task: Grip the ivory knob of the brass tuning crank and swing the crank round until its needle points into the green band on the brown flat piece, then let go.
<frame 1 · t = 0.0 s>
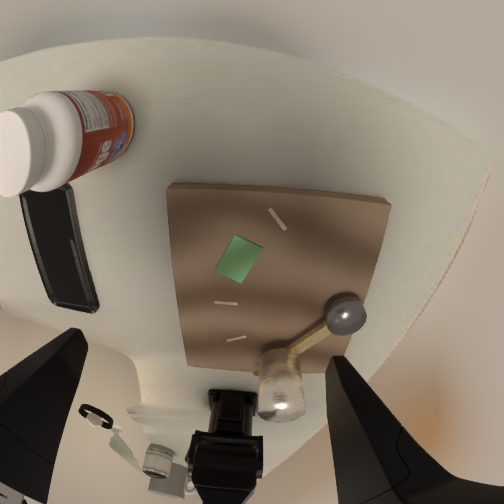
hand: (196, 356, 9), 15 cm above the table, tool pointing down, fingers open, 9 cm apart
coffee mug: (177, 467, 58), on the table
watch: (98, 410, 43), on the table
pill bottle: (105, 126, 19), on the table
brown flat piece: (271, 294, 25), on the table
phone: (61, 248, 25), on the table
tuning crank: (306, 365, 23), point 5 cm above the table, hinge at 140.0°
camera lens: (161, 448, 49), on the table
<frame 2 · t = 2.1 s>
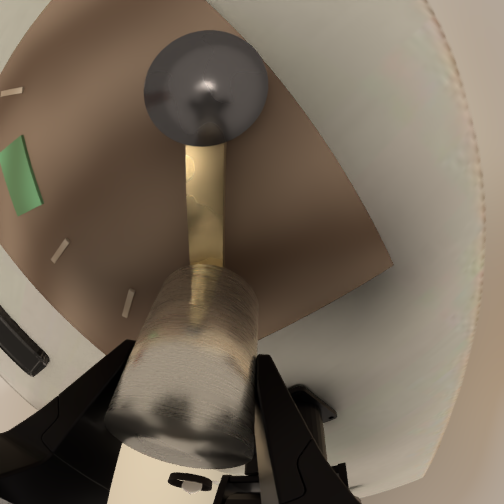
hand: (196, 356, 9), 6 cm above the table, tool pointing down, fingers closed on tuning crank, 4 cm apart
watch: (190, 474, 35), on the table
brown flat piece: (114, 190, 12), on the table
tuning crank: (188, 275, 7), point 5 cm above the table, hinge at 140.0°, touching gripper
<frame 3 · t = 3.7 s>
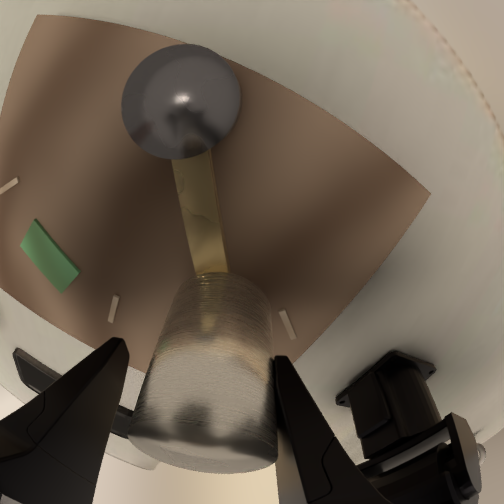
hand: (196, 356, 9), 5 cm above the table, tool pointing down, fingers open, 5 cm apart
brown flat piece: (142, 233, 13), on the table
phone: (76, 393, 22), on the table
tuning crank: (191, 284, 7), point 5 cm above the table, hinge at 124.9°, touching gripper
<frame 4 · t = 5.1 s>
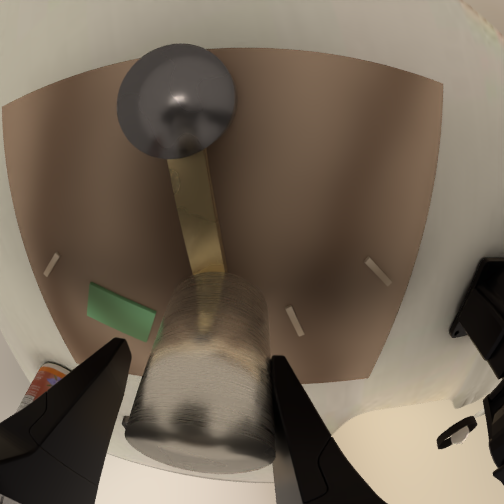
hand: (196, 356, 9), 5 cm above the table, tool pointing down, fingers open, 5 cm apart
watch: (453, 425, 28), on the table
pill bottle: (68, 380, 20), on the table
brown flat piece: (201, 248, 13), on the table
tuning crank: (187, 284, 7), point 5 cm above the table, hinge at 97.4°, touching gripper
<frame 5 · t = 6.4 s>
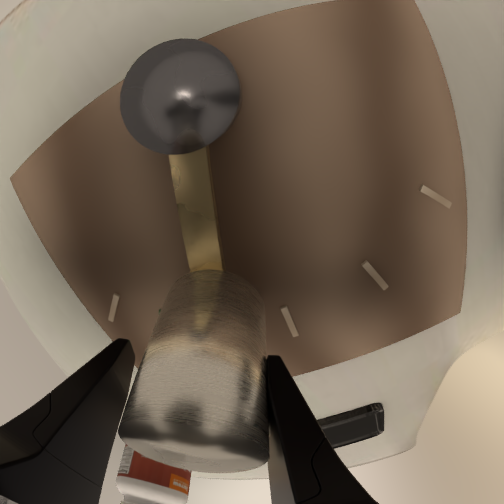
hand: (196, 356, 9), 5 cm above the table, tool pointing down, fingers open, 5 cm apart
pill bottle: (165, 419, 22), on the table
brown flat piece: (259, 236, 13), on the table
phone: (310, 432, 23), on the table
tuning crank: (185, 281, 7), point 5 cm above the table, hinge at 72.6°, touching gripper
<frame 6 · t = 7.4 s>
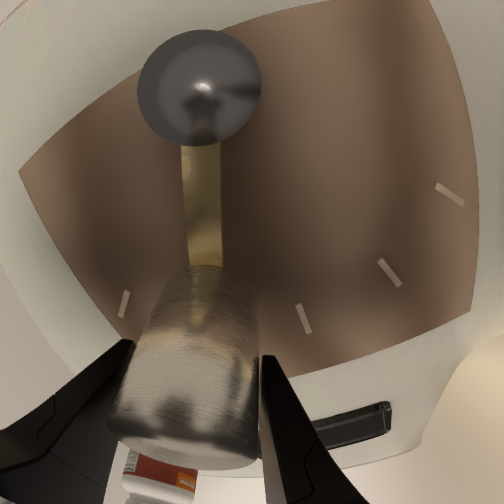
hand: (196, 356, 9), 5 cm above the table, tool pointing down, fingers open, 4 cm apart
pill bottle: (172, 417, 22), on the table
brown flat piece: (274, 231, 12), on the table
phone: (317, 430, 23), on the table
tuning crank: (187, 275, 7), point 5 cm above the table, hinge at 66.9°
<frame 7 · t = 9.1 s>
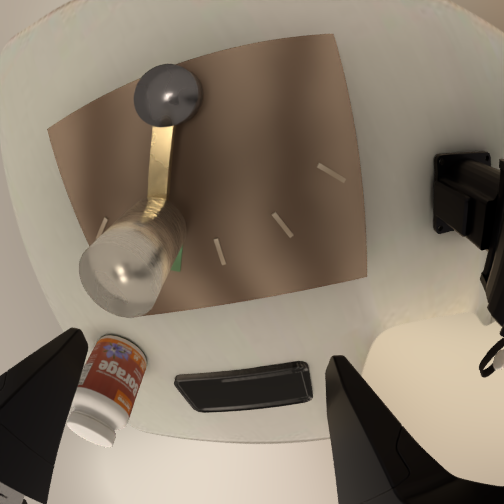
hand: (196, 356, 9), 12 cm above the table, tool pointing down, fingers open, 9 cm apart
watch: (492, 350, 29), on the table
pill bottle: (122, 351, 27), on the table
brown flat piece: (206, 189, 18), on the table
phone: (245, 385, 30), on the table
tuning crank: (142, 190, 13), point 5 cm above the table, hinge at 66.8°
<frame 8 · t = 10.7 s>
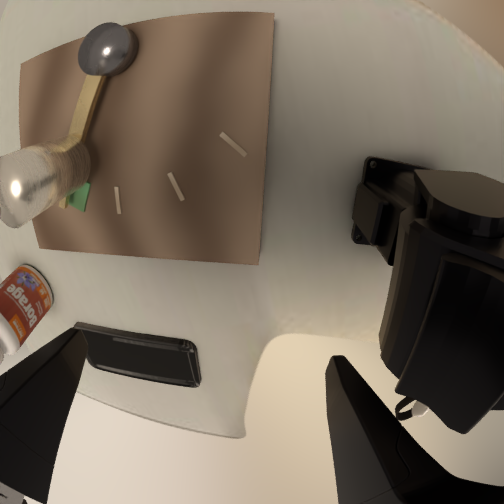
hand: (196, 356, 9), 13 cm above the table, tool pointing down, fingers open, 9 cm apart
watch: (413, 395, 32), on the table
pill bottle: (36, 284, 24), on the table
brown flat piece: (123, 140, 17), on the table
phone: (136, 351, 28), on the table
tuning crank: (55, 124, 11), point 5 cm above the table, hinge at 66.8°
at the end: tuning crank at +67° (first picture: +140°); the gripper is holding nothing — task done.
